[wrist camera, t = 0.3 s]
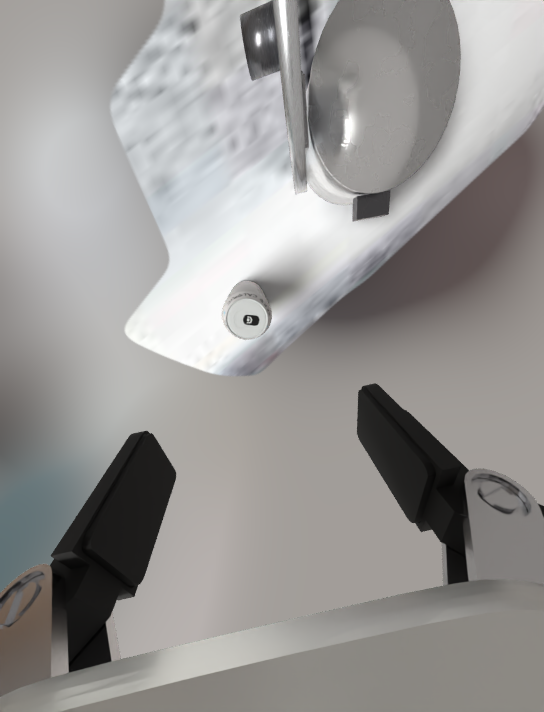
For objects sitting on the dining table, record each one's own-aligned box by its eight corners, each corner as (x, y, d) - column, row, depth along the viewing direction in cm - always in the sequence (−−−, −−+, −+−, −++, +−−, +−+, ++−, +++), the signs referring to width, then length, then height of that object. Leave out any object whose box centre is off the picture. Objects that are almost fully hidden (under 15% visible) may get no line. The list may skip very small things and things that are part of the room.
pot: (270, 29, 24) (280, -71, 17) (417, 6, 24) (488, -100, 17) (292, 235, 33) (304, 228, 26) (397, 216, 34) (438, 204, 26)
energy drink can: (231, 277, 35) (221, 289, 21) (266, 282, 36) (276, 296, 22) (229, 312, 37) (219, 341, 24) (261, 316, 38) (269, 346, 25)
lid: (296, -25, 18) (253, -5, 19) (220, -2002, 2) (-25, -1330, 3) (311, 207, 25) (280, 214, 26) (318, 139, 10) (240, 162, 10)
